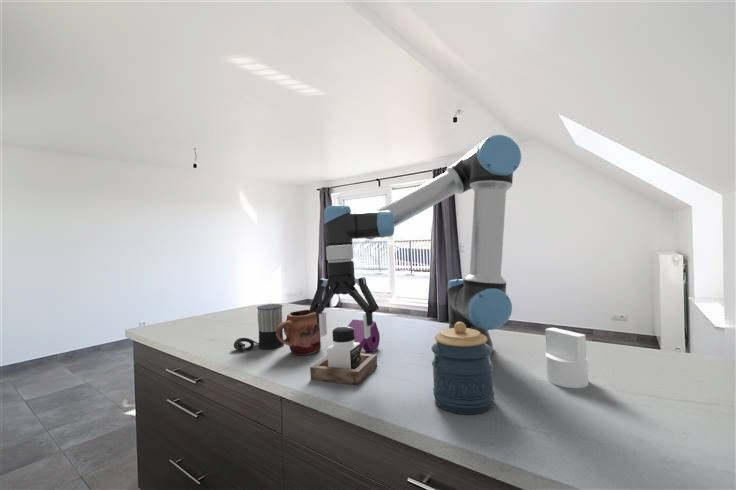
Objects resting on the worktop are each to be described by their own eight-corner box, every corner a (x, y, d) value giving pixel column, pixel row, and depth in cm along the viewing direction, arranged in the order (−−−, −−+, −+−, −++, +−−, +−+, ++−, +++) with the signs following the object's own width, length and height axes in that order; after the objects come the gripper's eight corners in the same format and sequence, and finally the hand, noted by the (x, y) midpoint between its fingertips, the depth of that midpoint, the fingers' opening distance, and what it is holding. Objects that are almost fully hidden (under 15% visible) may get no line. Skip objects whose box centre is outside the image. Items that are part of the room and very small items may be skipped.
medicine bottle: (351, 376, 92) (349, 331, 92) (327, 373, 94) (325, 330, 94) (361, 367, 98) (359, 325, 98) (338, 365, 101) (337, 324, 101)
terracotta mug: (292, 365, 104) (290, 319, 104) (266, 358, 111) (265, 316, 111) (335, 347, 121) (333, 308, 121) (310, 342, 128) (308, 305, 128)
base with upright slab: (538, 377, 87) (536, 330, 87) (562, 371, 90) (560, 325, 90) (571, 391, 78) (569, 338, 78) (597, 383, 82) (594, 333, 82)
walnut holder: (377, 366, 100) (376, 354, 100) (358, 385, 87) (358, 371, 87) (334, 362, 105) (333, 351, 105) (310, 379, 92) (310, 367, 92)
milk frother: (289, 344, 127) (287, 304, 127) (254, 356, 114) (252, 312, 114) (264, 339, 135) (262, 302, 135) (228, 351, 122) (226, 309, 122)
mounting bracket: (356, 380, 106) (381, 341, 119) (348, 359, 103) (375, 321, 116) (332, 375, 111) (359, 338, 124) (324, 355, 108) (352, 319, 121)
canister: (490, 390, 81) (487, 315, 81) (498, 418, 68) (494, 329, 68) (434, 387, 84) (431, 315, 84) (432, 413, 71) (428, 328, 71)
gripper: (386, 258, 95) (391, 334, 95) (308, 261, 104) (313, 331, 104) (377, 259, 88) (382, 342, 88) (294, 263, 97) (299, 338, 97)
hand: (345, 336), depth 96 cm, fingers open, 13 cm apart
